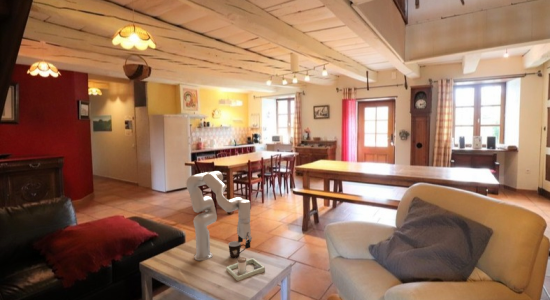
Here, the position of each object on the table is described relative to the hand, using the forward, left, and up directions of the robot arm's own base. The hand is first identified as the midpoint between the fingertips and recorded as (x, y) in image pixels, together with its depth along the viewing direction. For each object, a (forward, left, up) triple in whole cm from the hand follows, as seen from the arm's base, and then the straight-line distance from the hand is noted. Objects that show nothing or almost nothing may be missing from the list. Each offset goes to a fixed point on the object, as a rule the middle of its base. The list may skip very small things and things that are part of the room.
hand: (244, 245), depth 180 cm
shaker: (+1, -2, -18) cm, 18 cm away
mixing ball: (+5, +6, -18) cm, 19 cm away
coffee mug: (-19, +4, -18) cm, 27 cm away
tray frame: (+1, 0, -18) cm, 18 cm away
